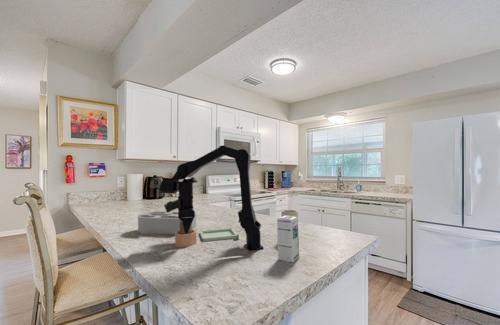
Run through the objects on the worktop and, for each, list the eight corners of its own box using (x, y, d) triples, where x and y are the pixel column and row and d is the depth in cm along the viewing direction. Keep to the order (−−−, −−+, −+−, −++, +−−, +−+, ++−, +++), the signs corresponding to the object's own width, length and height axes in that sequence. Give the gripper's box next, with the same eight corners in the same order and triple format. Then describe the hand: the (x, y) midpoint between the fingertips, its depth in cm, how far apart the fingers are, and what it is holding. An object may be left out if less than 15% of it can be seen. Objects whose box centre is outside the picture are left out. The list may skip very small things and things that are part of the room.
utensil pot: (197, 247, 93) (197, 233, 93) (174, 249, 90) (174, 235, 90) (195, 241, 101) (195, 228, 102) (174, 243, 99) (174, 230, 99)
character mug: (297, 245, 94) (296, 213, 95) (280, 244, 96) (279, 213, 97) (299, 237, 105) (298, 209, 105) (283, 236, 107) (283, 208, 107)
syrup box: (293, 262, 76) (292, 219, 77) (277, 259, 79) (276, 217, 80) (299, 257, 81) (298, 216, 82) (283, 254, 84) (283, 214, 85)
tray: (238, 239, 103) (238, 235, 103) (202, 243, 98) (202, 238, 98) (231, 231, 116) (231, 227, 116) (199, 234, 111) (199, 230, 111)
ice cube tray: (182, 237, 109) (182, 218, 109) (130, 234, 114) (130, 217, 114) (196, 228, 125) (196, 212, 125) (150, 226, 130) (150, 211, 131)
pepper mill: (192, 244, 94) (192, 219, 95) (179, 245, 93) (179, 219, 93) (191, 241, 99) (191, 216, 99) (179, 242, 97) (179, 217, 98)
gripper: (166, 192, 103) (166, 227, 102) (164, 196, 85) (164, 238, 85) (192, 191, 106) (192, 225, 106) (194, 195, 89) (194, 236, 88)
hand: (185, 230), depth 96 cm, fingers open, 9 cm apart
